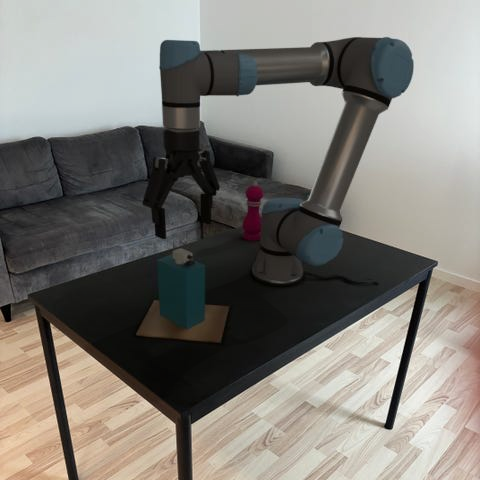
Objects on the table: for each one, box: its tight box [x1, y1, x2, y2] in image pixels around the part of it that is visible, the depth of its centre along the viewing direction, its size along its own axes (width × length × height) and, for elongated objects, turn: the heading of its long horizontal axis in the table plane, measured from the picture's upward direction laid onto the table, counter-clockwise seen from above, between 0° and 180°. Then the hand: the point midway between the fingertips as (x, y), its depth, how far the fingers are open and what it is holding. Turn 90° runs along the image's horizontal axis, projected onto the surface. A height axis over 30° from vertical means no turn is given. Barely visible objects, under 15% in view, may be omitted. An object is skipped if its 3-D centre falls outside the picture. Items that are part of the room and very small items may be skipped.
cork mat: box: [135, 299, 230, 344], centre depth 119 cm, size 20×17×1 cm
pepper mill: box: [242, 181, 264, 242], centre depth 165 cm, size 7×7×20 cm
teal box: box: [156, 247, 206, 329], centre depth 115 cm, size 18×6×10 cm
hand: (184, 230), depth 107 cm, fingers open, 13 cm apart
